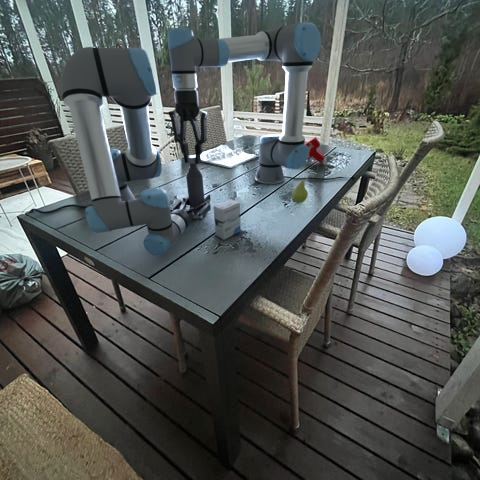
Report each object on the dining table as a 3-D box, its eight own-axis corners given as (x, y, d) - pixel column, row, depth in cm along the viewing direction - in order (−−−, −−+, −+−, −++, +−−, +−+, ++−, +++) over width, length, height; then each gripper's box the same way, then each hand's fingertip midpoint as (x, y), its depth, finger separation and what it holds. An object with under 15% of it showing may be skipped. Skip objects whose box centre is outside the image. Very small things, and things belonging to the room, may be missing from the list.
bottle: (207, 212, 113) (202, 156, 101) (203, 219, 108) (198, 161, 96) (193, 212, 114) (186, 156, 101) (189, 218, 109) (182, 161, 96)
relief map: (230, 168, 162) (230, 159, 159) (189, 158, 180) (188, 150, 177) (256, 157, 180) (256, 149, 177) (216, 149, 198) (215, 142, 195)
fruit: (288, 200, 123) (290, 174, 116) (302, 197, 125) (305, 172, 119) (296, 206, 118) (299, 179, 111) (310, 203, 120) (314, 177, 114)
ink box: (232, 226, 103) (231, 197, 97) (241, 231, 100) (241, 202, 94) (214, 235, 98) (212, 205, 92) (223, 240, 95) (222, 209, 89)
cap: (189, 160, 101) (189, 154, 100) (199, 160, 100) (199, 155, 99) (185, 163, 98) (185, 157, 97) (196, 164, 97) (195, 158, 96)
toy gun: (328, 157, 168) (316, 136, 164) (328, 158, 165) (315, 137, 161) (303, 172, 178) (290, 152, 174) (302, 174, 175) (289, 154, 171)
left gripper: (153, 229, 97) (181, 202, 116) (203, 236, 93) (224, 207, 112) (149, 210, 93) (179, 186, 112) (201, 216, 89) (223, 190, 108)
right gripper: (155, 90, 85) (167, 163, 98) (206, 90, 82) (211, 167, 94) (167, 88, 91) (176, 158, 104) (214, 88, 88) (218, 161, 100)
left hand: (201, 196), depth 112 cm, fingers closed on bottle, 6 cm apart
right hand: (192, 162), depth 99 cm, fingers closed on cap, 4 cm apart
